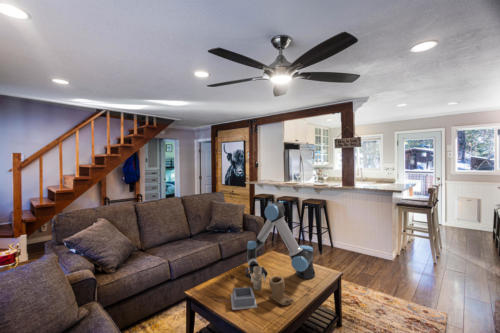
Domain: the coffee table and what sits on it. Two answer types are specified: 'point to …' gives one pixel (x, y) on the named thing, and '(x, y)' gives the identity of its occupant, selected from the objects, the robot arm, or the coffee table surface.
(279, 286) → the tan boot
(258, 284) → the peg
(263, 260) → the coffee table surface
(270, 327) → the coffee table surface
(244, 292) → the well
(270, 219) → the robot arm
